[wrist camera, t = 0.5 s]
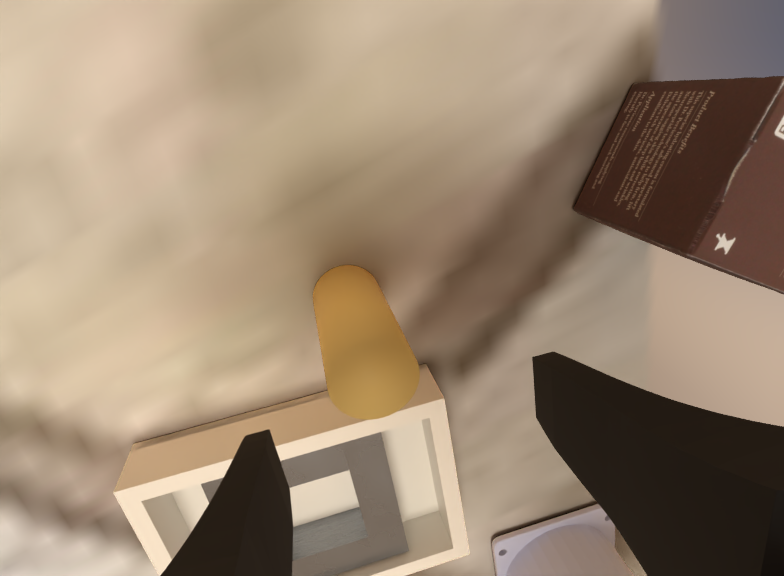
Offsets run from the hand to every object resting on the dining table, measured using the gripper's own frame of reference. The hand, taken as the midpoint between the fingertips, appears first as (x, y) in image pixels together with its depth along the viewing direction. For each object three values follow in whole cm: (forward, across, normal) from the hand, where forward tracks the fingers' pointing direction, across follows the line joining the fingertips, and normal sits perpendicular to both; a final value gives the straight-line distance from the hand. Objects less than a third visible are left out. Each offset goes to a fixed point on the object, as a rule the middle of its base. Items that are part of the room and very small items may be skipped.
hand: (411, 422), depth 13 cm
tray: (+10, +4, +10) cm, 15 cm away
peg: (+10, +1, 0) cm, 10 cm away
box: (+10, -14, -2) cm, 18 cm away
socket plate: (+10, +4, +10) cm, 15 cm away
